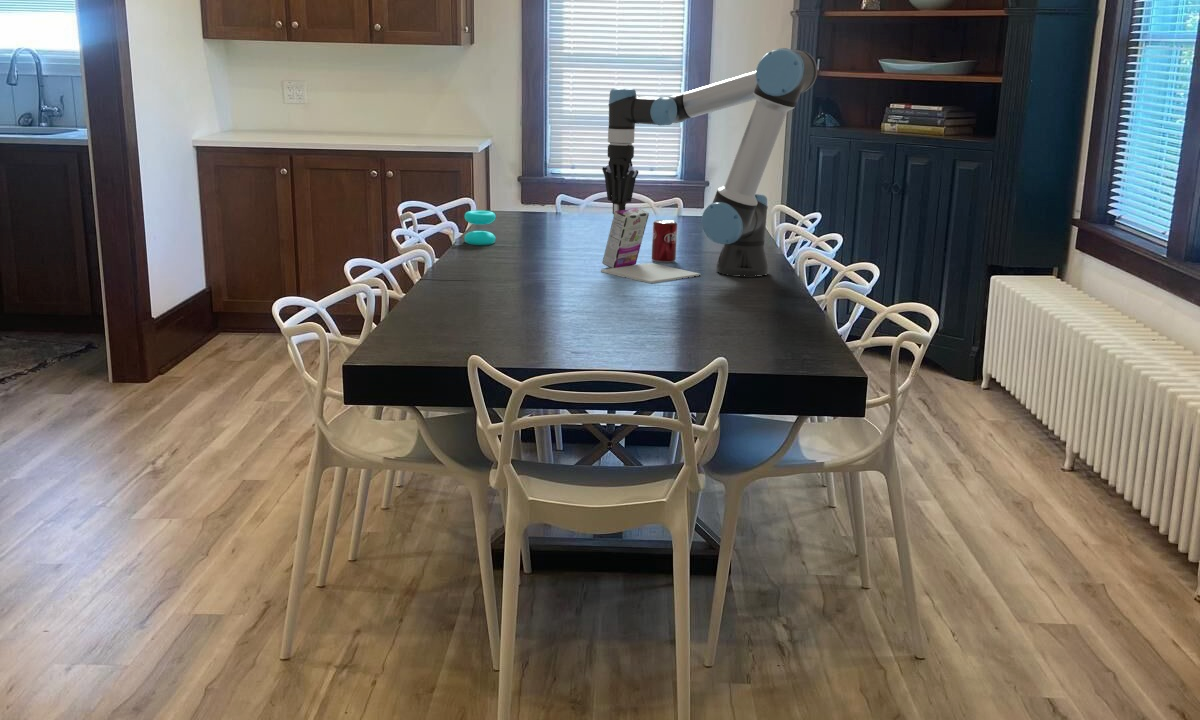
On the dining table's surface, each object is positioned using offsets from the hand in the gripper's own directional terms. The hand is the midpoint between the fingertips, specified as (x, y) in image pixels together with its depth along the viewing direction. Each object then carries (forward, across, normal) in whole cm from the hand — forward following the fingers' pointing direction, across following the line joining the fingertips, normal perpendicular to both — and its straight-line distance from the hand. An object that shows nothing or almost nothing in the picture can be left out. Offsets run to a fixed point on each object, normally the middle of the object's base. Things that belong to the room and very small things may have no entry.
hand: (618, 226), depth 326 cm
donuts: (+12, +53, +10) cm, 56 cm away
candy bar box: (+11, 0, 0) cm, 11 cm away
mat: (+12, -14, 0) cm, 18 cm away
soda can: (+12, -1, -18) cm, 22 cm away
